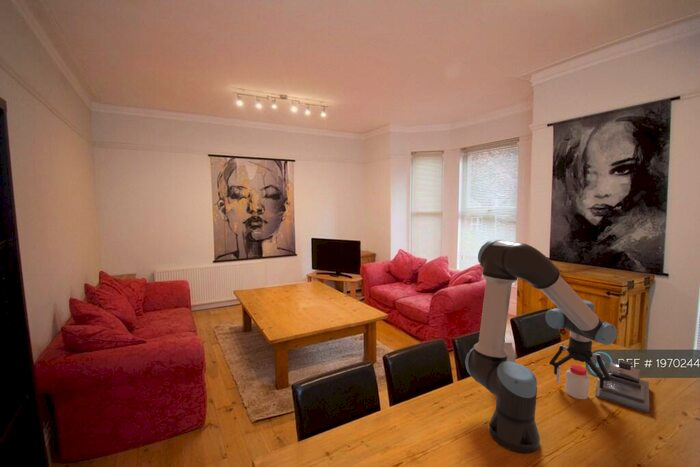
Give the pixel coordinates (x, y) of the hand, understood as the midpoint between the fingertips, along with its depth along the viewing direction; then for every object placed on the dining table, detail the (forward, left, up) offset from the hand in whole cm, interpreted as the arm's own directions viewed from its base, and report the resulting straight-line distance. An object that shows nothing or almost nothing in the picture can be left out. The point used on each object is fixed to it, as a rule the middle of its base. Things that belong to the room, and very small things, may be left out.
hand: (577, 388), depth 134 cm
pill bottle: (0, 0, -3) cm, 3 cm away
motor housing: (+14, -14, -2) cm, 20 cm away
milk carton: (-14, +25, -3) cm, 29 cm away
